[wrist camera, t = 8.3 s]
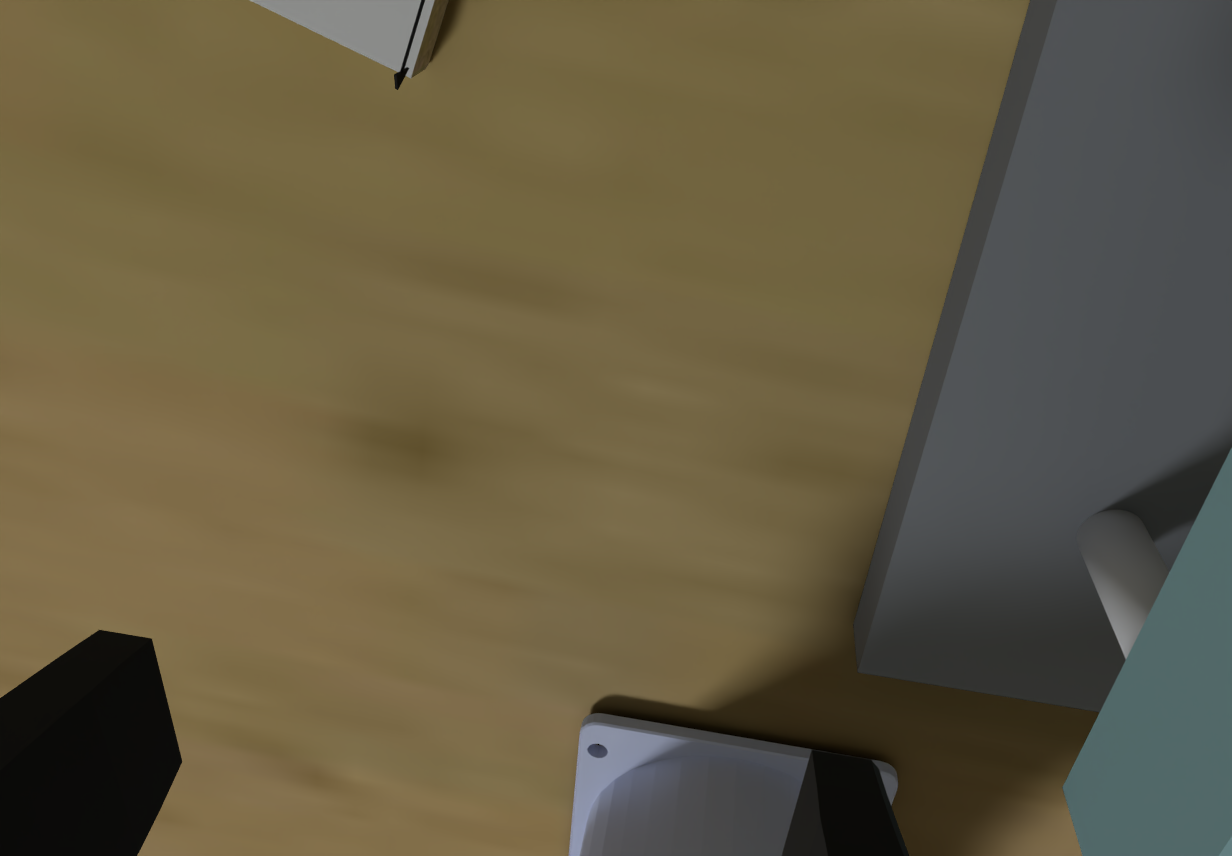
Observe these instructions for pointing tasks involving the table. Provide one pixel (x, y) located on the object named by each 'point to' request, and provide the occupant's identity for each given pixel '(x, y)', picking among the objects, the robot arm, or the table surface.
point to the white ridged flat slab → (373, 28)
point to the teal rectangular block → (1169, 714)
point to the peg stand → (1069, 365)
